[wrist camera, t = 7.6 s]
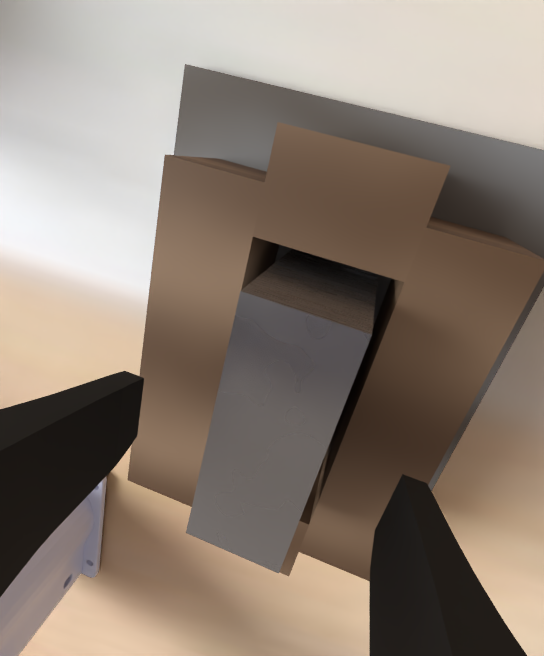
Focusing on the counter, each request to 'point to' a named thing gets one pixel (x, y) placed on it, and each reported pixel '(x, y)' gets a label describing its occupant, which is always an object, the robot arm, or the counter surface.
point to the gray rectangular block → (280, 401)
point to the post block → (347, 248)
